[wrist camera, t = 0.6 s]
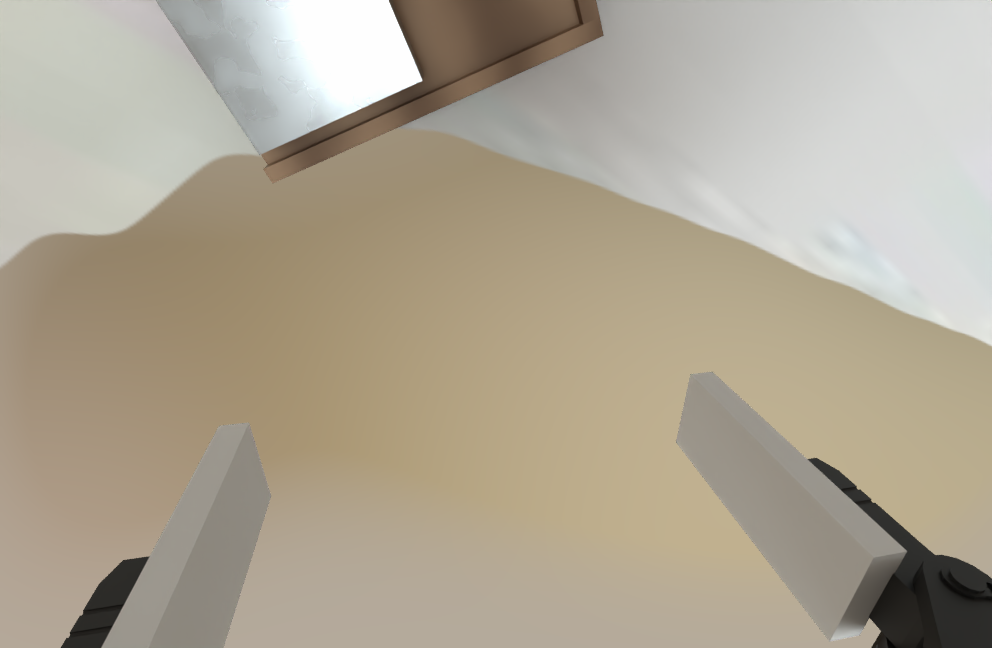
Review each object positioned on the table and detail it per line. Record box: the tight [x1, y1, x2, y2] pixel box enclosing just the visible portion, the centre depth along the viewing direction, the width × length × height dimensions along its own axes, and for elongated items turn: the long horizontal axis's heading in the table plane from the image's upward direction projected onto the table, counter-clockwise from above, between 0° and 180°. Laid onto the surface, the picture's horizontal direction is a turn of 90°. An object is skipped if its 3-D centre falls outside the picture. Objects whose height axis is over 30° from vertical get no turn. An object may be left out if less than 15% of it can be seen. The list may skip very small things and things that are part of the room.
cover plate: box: [156, 0, 424, 155], centre depth 27 cm, size 11×9×2 cm
